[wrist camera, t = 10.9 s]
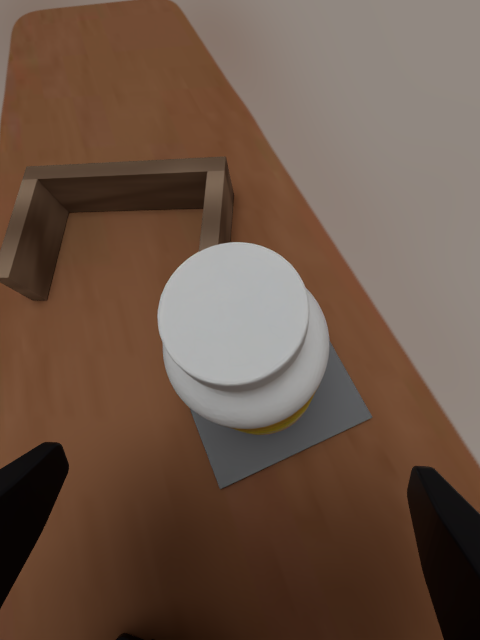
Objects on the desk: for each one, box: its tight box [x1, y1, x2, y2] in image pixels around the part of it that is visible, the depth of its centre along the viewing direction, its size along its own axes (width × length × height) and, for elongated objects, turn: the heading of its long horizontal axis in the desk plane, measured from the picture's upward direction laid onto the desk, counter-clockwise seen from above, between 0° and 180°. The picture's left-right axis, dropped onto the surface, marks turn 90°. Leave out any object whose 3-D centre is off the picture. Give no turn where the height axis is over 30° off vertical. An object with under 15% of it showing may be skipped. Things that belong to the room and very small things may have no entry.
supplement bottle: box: [158, 242, 329, 435], centre depth 17 cm, size 7×7×13 cm
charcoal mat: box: [190, 341, 372, 489], centre depth 23 cm, size 10×10×1 cm
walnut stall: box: [0, 157, 234, 300], centre depth 26 cm, size 9×15×4 cm, turn 87°
